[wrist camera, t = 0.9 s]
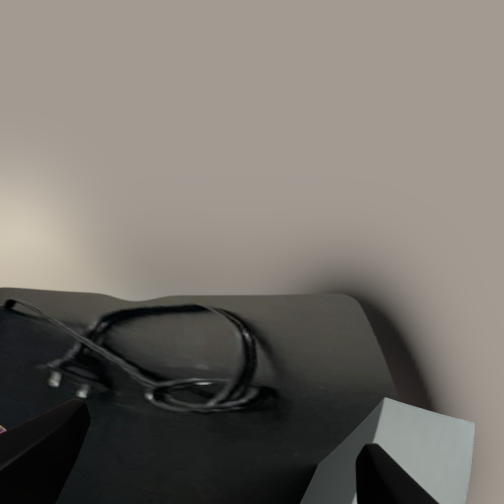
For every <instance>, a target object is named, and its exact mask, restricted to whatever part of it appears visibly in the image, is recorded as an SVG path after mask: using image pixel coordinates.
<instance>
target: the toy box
mask: <svg viewBox="0 0 504 504" xmlns="http://www.w3.org/2000/svg"><path fill="white" fill-rule="evenodd" d="M474 431H475V423H474V422H470V421H466V420H462V419H458V418H454V417H449V416H446V415H442V414H438V413H435V412H431V411H428V410H424V409H421V408H417V407H414V406H410V405H407V404H404V403H401V402H398V401H395V400H391V399H388V398H384V399H383V400H382V401H381V402H380V403H379V404H378V406H377V407H376V408H375V409H374V410H373V411H372V412H371V413H370V414H369V415H368V417H367V418H366V419H365V420H364V421H363V422H362V423H361V424H360V425H359V426H358V427H357V428H356V429H355V430H354V431H353V432H352V433H351V434H350V435H349V436H348V437H347V438H346V439H345V440H344V441H343V442H342V443H341V444H340V445H339V446H338V447H337V448H336V449H335V450H334V451H332V452H331V453H330V454H329V455H328V456H327V457H326V458H325V459H324V460H323V461H321V462H320V463H319V464H318V466H317V469H316V471H315V473H314V475H313V477H312V480H311V482H310V484H309V486H308V488H307V490H306V492H305V494H304V496H303V498H302V500H301V502H300V504H357V498H356V469H355V461H356V458H357V456H358V454H359V453H360V451H361V449H362V448H363V446H364V445H365V444H368V443H377V444H379V445H380V446H381V447H382V448H383V449H384V450H385V451H386V452H387V453H388V454H389V455H390V456H391V457H392V458H393V459H394V460H395V461H396V462H397V463H398V464H399V465H400V466H401V467H402V468H403V469H404V470H405V471H406V472H407V473H408V474H409V475H410V476H411V477H412V478H413V479H414V480H415V481H416V482H417V483H418V484H419V485H420V486H421V487H422V488H423V489H425V490H426V491H427V492H428V493H429V494H430V495H431V496H432V497H433V498H434V499H435V500H436V501H437V502H438V503H439V504H465V502H466V497H467V492H468V486H469V480H470V473H471V465H472V456H473V446H474V444H473V443H474Z"/></svg>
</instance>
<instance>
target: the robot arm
mask: <svg viewBox="0 0 504 504" xmlns="http://www.w3.org/2000/svg"><path fill="white" fill-rule="evenodd" d="M89 425H90V415H89V412H88V408H87V405H86V403H85V402H84V401H82V400H79V399H76V398H74V399H71V400H69V401H67V402H65V403H63V404H61V405H59V406H57V407H55V408H53V409H51V410H49V411H47V412H45V413H43V414H41V415H39V416H36V417H34V418H32V419H30V420H28V421H26V422H24V423H22V424H20V425H17V426H15V427H13V428H11V429H9V430H7V431H4V432H2V433H0V504H55V503H56V501H57V499H58V497H59V495H60V493H61V490H62V488H63V486H64V484H65V482H66V480H67V478H68V476H69V474H70V472H71V470H72V468H73V466H74V464H75V462H76V460H77V458H78V455H79V452H80V450H81V447H82V444H83V441H84V438H85V436H86V433H87V430H88V428H89ZM355 469H356V498H357V504H439V503H438V502H437V501H436V500H435V499H434V498H433V497H432V496H431V495H430V494H429V493H428V492H427V491H426V490H425V489H423V488H422V487H421V486H420V485H419V484H418V483H417V482H416V481H415V480H414V479H413V478H412V477H411V476H410V475H409V474H408V473H407V472H406V471H405V470H404V469H403V468H402V467H401V466H400V465H399V464H398V463H397V462H396V461H395V460H394V459H393V458H392V457H391V456H390V455H389V454H388V453H387V452H386V451H385V450H384V449H383V448H382V447H381V446H380V445H379V444H377V443H368V444H365V445H364V446H363V448H362V449H361V451H360V453H359V454H358V456H357V458H356V461H355Z"/></svg>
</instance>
